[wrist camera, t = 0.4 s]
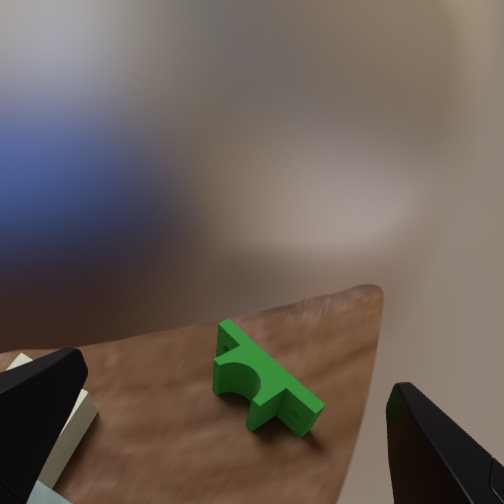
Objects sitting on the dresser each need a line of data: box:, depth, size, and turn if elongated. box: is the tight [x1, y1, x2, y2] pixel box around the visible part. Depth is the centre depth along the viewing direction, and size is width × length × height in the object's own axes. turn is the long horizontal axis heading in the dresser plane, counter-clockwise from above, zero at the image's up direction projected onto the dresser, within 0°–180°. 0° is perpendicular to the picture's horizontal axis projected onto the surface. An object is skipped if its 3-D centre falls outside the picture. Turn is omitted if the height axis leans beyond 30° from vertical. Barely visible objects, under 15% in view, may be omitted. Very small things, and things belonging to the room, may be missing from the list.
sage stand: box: [6, 353, 98, 489], centre depth 15 cm, size 10×8×3 cm
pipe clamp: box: [212, 319, 325, 438], centre depth 23 cm, size 11×4×5 cm, turn 41°
